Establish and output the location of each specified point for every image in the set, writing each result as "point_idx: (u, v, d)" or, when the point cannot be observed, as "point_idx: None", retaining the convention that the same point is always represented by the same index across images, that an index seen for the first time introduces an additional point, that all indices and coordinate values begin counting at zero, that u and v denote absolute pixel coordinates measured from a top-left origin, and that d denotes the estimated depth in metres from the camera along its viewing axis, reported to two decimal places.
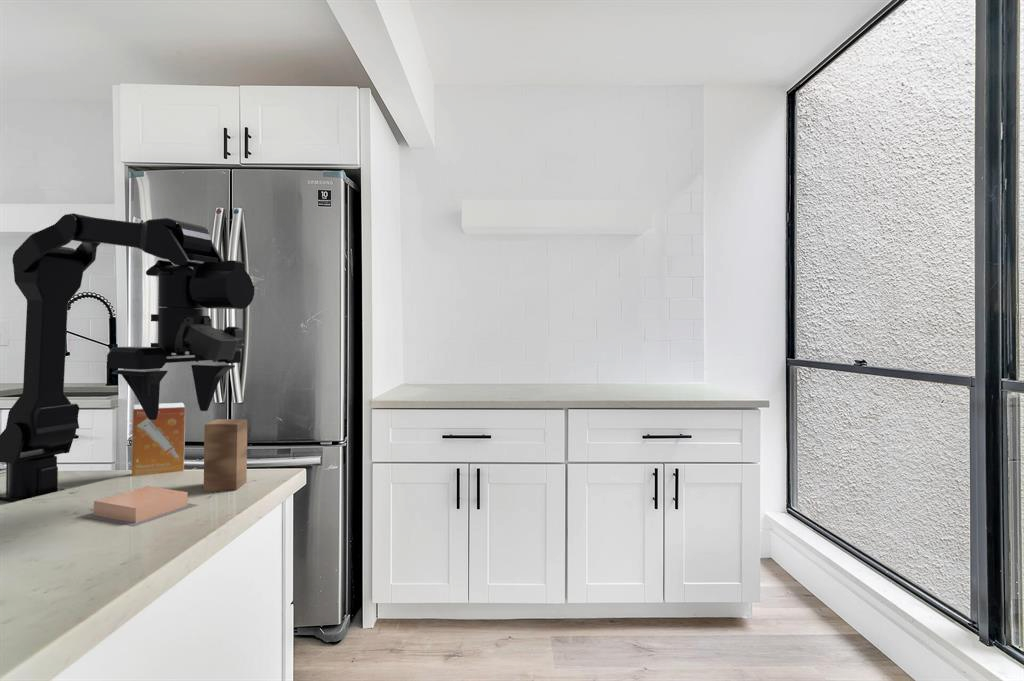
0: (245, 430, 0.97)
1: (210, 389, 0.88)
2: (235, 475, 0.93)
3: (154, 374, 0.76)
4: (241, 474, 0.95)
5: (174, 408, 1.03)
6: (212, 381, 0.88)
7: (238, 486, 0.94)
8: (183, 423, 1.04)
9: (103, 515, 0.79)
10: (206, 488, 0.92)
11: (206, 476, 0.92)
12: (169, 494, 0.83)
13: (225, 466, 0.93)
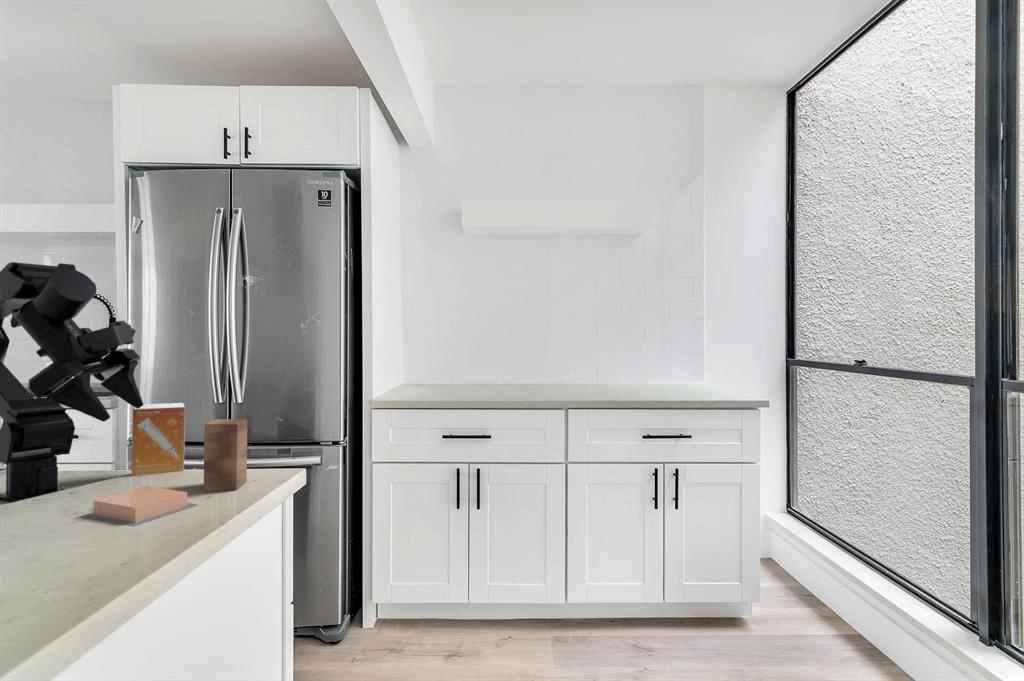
0: (245, 430, 0.97)
1: (132, 387, 0.96)
2: (235, 475, 0.93)
3: (82, 377, 0.84)
4: (241, 474, 0.95)
5: (174, 408, 1.03)
6: (129, 380, 0.96)
7: (238, 486, 0.94)
8: (183, 423, 1.04)
9: (103, 515, 0.79)
10: (206, 488, 0.92)
11: (206, 476, 0.92)
12: (169, 494, 0.83)
13: (225, 466, 0.93)
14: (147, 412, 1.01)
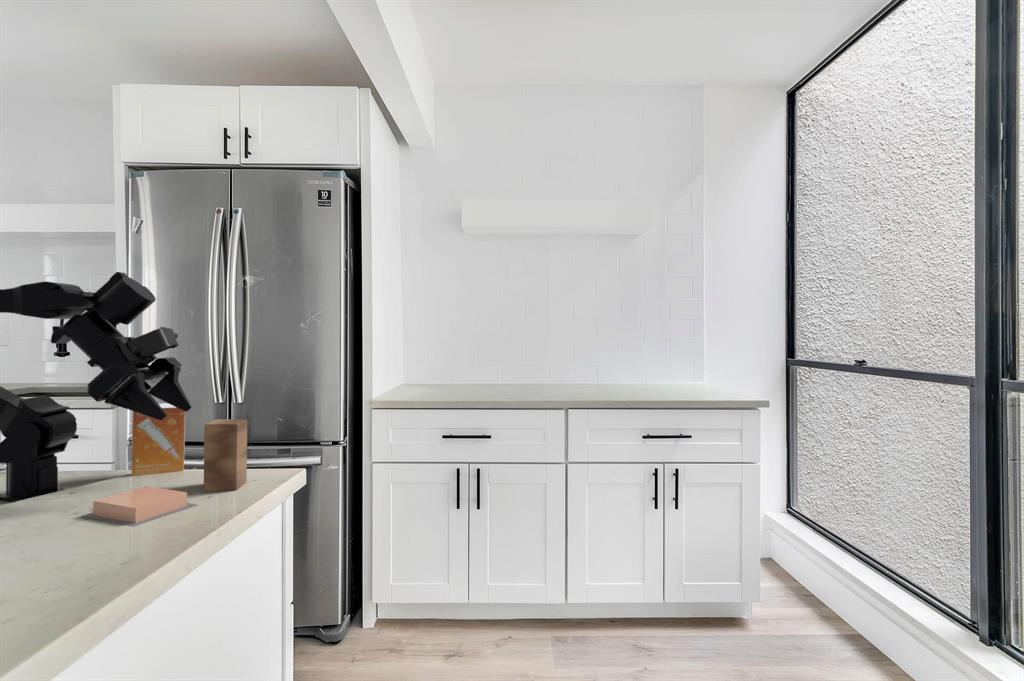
0: (245, 430, 0.97)
1: (179, 391, 0.98)
2: (235, 475, 0.93)
3: (138, 377, 0.87)
4: (241, 474, 0.95)
5: (174, 408, 1.03)
6: (175, 385, 0.98)
7: (238, 486, 0.94)
8: (183, 423, 1.04)
9: (102, 515, 0.79)
10: (206, 488, 0.92)
11: (206, 476, 0.92)
12: (169, 494, 0.83)
13: (225, 466, 0.93)
14: None
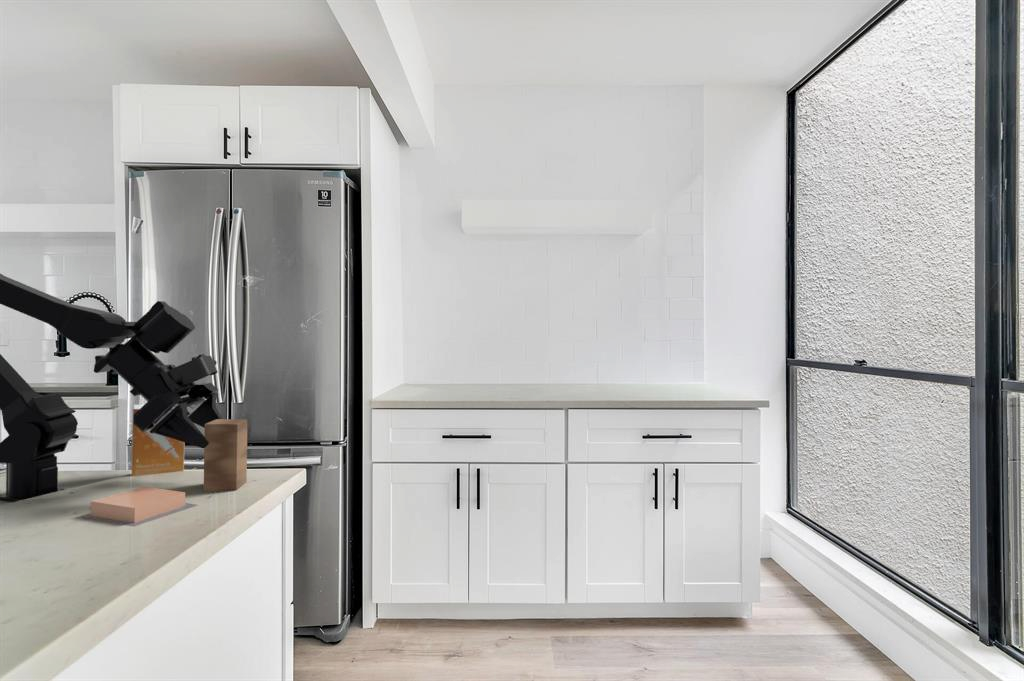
0: (245, 430, 0.97)
1: (218, 417, 0.99)
2: (235, 475, 0.93)
3: (182, 407, 0.87)
4: (241, 474, 0.95)
5: None
6: (214, 411, 0.99)
7: (238, 486, 0.94)
8: None
9: (100, 515, 0.79)
10: (206, 488, 0.92)
11: (206, 476, 0.92)
12: (167, 494, 0.83)
13: (225, 466, 0.93)
14: None
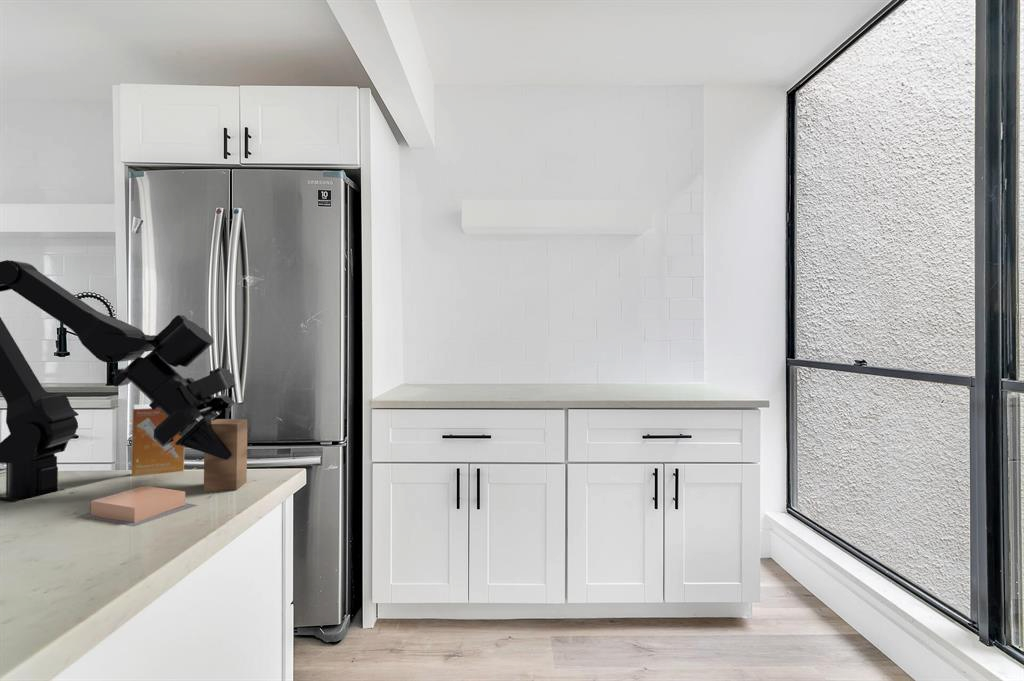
0: (245, 430, 0.97)
1: None
2: (235, 475, 0.93)
3: (206, 419, 0.90)
4: (241, 474, 0.95)
5: None
6: None
7: (238, 485, 0.94)
8: None
9: (101, 515, 0.79)
10: (206, 488, 0.92)
11: (206, 476, 0.92)
12: (167, 493, 0.83)
13: (226, 465, 0.93)
14: (147, 412, 1.01)
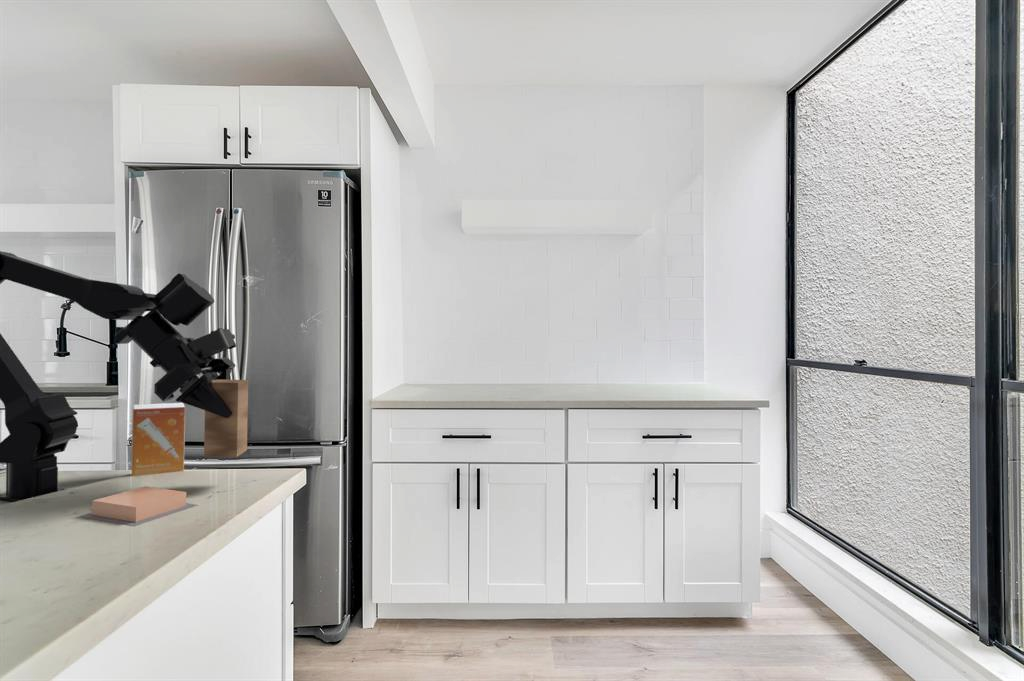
0: (246, 390, 0.97)
1: None
2: (236, 434, 0.93)
3: (207, 376, 0.90)
4: (242, 434, 0.95)
5: (174, 408, 1.03)
6: None
7: (239, 445, 0.94)
8: (183, 423, 1.04)
9: (102, 515, 0.79)
10: (207, 446, 0.92)
11: (207, 434, 0.92)
12: (168, 494, 0.83)
13: (226, 424, 0.93)
14: (147, 412, 1.01)
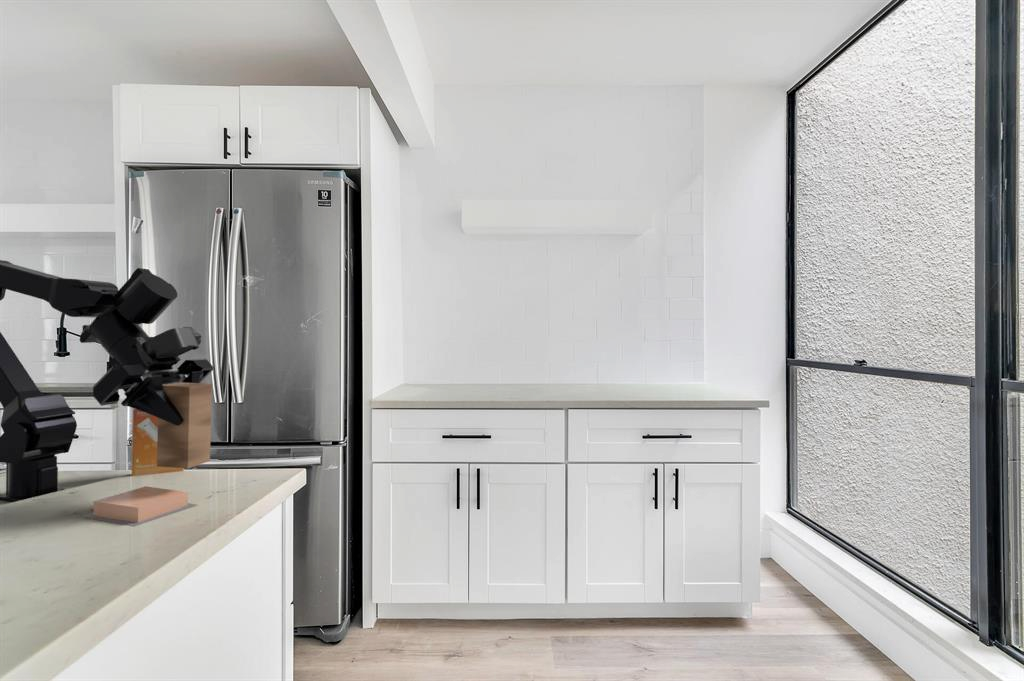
0: (207, 395, 0.88)
1: None
2: (187, 443, 0.84)
3: (153, 379, 0.82)
4: (199, 443, 0.87)
5: None
6: None
7: (193, 455, 0.85)
8: None
9: (103, 515, 0.79)
10: (159, 455, 0.85)
11: (159, 442, 0.85)
12: (169, 494, 0.83)
13: (178, 432, 0.84)
14: None
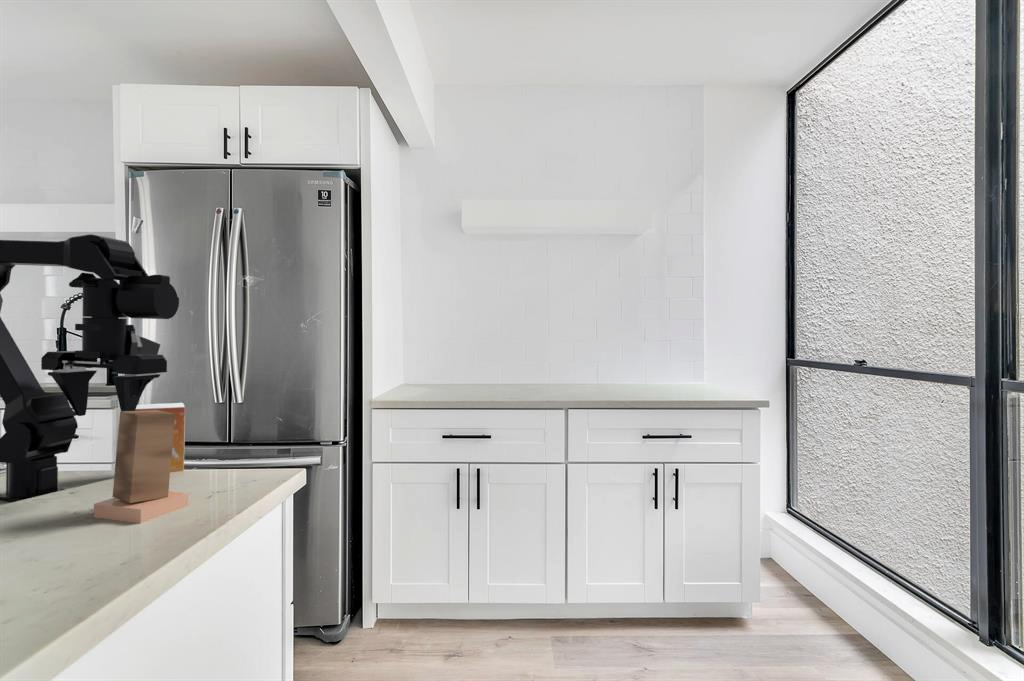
0: (167, 425, 0.82)
1: (87, 394, 0.92)
2: (131, 475, 0.79)
3: None
4: (151, 476, 0.81)
5: (174, 408, 1.03)
6: (88, 386, 0.92)
7: (140, 489, 0.79)
8: (183, 423, 1.04)
9: None
10: (115, 485, 0.81)
11: (116, 471, 0.81)
12: (170, 495, 0.83)
13: (127, 462, 0.79)
14: None
